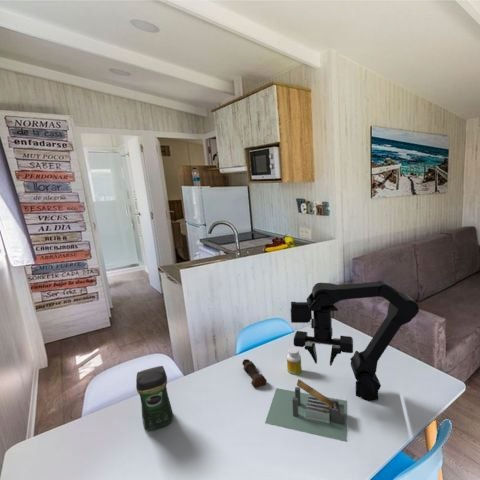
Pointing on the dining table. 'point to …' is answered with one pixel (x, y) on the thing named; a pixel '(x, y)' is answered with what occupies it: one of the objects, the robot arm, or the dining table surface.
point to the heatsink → (317, 411)
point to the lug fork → (296, 401)
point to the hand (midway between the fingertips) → (323, 364)
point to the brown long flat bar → (316, 394)
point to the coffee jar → (154, 398)
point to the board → (303, 416)
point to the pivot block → (337, 413)
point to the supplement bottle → (293, 361)
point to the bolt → (254, 374)
